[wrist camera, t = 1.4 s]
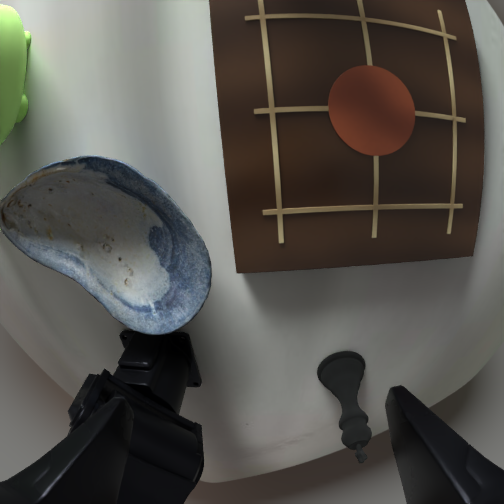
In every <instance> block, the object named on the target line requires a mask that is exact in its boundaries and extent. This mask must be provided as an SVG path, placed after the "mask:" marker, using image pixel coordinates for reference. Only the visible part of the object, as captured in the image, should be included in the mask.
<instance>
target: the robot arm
mask: <svg viewBox="0 0 504 504" xmlns="http://www.w3.org/2000/svg"><path fill="white" fill-rule="evenodd" d="M124 335H125V336H126V337H125V336H124ZM119 336H120V339H121V341H122V344H123V346H124V349H125V350H124V352H123V354H122V355H121V357H120V359H119V361H118V367H117V369H116V371H115V372H114V374H113V375H112V374H110V372H109V371H108V370H106V369H105V368H104V370H103V371H102V373H101V374H100V375H99V374H97V375H95V374H89V375H88V377H87V378H86V380H85V382H84V384H83V385H82V387H81V389H80V390H79V392H78V394H77V396H76V397H75V399H74V401H73V403H72V405H71V406H70V408H69V410H68V414H69V416H70V420H71V422H70V425H69V426H70V427H71V428H70V431H69V433H68V436H67V437H66V438H65V439H64V440H62V441H61V442H60V443H58V444H57V445H56V446H55V447H54V448H53V449H51V450H50V451H49V452H47V453H46V454H45V455H44V456H42V457H41V458H40V459H38V460H37V461H36V462H35V463H33V464H31V465H30V466H28V467H27V468H25V469H24V470H22V471H21V472H19V473H17V474H16V475H14V476H13V477H11V478H9V479H8V480H5V481H2V482H0V504H184V502H185V500H186V498H187V497H188V495H189V494H190V492H191V491H192V490H193V489H194V488H195V486H196V484H197V483H198V481H199V479H200V477H201V475H202V472H203V468H204V451H203V438H202V425H200V424H198V423H196V422H192V421H190V420H188V419H186V418H184V417H182V416H180V415H179V413H180V409H181V405H182V402H183V398H184V395H185V391H186V387H200V386H201V384H202V380H201V376H200V373H199V369H198V366H197V362H196V359H195V355H194V352H193V348H192V344H191V341H190V337H189V335H188V334H187V333H185V332H172V333H168V334H164V335H148V334H143V333H140V332H137V331H129V330H123V331H122V332H121V333H120V335H119ZM181 337H184V338H185V339H183V338H181ZM385 408H386V414H387V420H388V425H389V432H390V437H391V444H392V448H393V452H394V455H395V459H396V463H397V467H398V470H399V473H400V478H401V482H402V486H403V490H404V494H405V498H406V502H407V504H504V470H503V469H501V468H500V467H498V466H497V465H495V464H494V463H492V462H491V461H489V460H488V459H487V458H485V457H484V456H483V455H482V454H480V453H479V452H478V451H477V450H476V449H474V448H473V447H472V446H471V445H468V443H467V442H466V441H465V440H464V439H463V438H462V437H461V436H459V435H458V434H457V433H456V432H455V431H454V430H453V429H451V428H450V427H449V426H448V425H447V424H446V423H445V422H444V421H442V420H441V419H440V418H439V417H438V416H437V415H436V414H434V413H433V412H432V411H431V410H430V409H429V408H428V407H426V406H425V405H424V404H423V403H422V402H421V401H420V400H419V399H417V398H416V397H415V396H414V395H413V394H412V393H411V392H409V391H408V390H407V389H406V388H405V387H404V386H402V385H399V386H394V387H391V388H390V390H389V393H388V396H387V399H386V403H385Z"/></svg>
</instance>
